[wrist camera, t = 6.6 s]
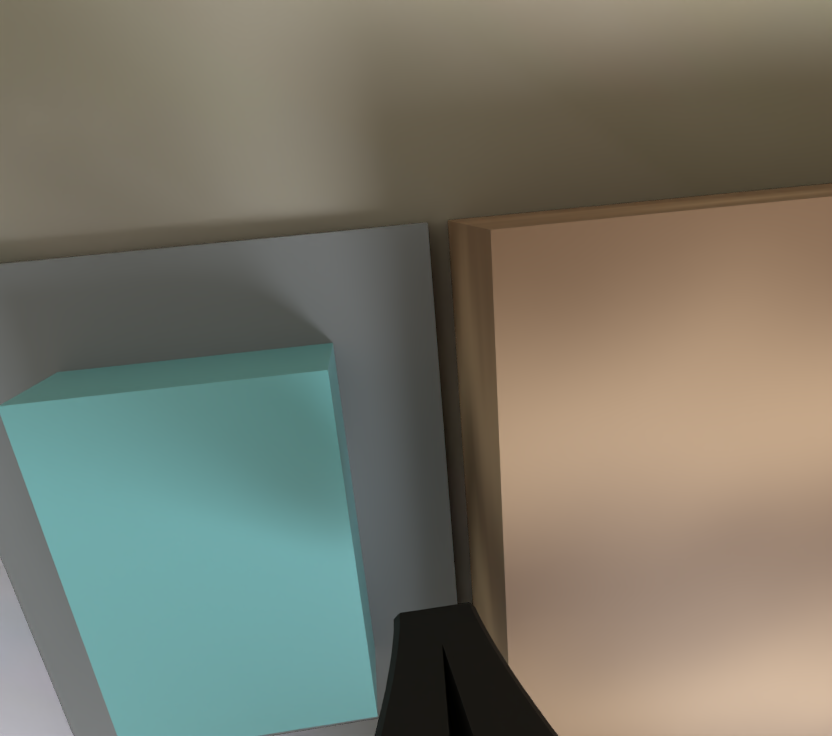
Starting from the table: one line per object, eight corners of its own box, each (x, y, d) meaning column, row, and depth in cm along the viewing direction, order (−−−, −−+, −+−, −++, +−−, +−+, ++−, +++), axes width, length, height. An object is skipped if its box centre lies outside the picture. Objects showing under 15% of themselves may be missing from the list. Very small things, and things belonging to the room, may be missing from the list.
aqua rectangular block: (124, 757, 12) (156, 682, 14) (377, 716, 13) (375, 649, 15) (-3, 406, 9) (57, 372, 11) (327, 370, 10) (332, 342, 12)
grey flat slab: (462, 691, 16) (465, 703, 16) (93, 752, 15) (85, 766, 15) (425, 222, 12) (427, 222, 11) (-99, 272, 11) (-115, 275, 10)
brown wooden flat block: (953, 611, 17) (1121, 727, 13) (478, 689, 16) (515, 840, 12) (1089, 158, 13) (1397, 140, 9) (447, 220, 12) (490, 229, 8)
